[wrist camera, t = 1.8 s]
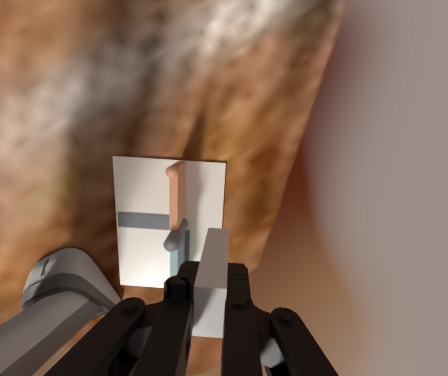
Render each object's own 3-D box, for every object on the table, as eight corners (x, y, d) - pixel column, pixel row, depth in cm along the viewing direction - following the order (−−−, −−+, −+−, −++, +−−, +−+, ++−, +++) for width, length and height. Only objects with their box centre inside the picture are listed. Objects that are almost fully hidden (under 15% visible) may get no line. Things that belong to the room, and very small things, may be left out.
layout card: (113, 155, 33) (112, 156, 32) (225, 162, 32) (225, 163, 32) (121, 283, 38) (120, 285, 37) (218, 290, 38) (217, 292, 37)
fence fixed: (176, 216, 35) (163, 237, 28) (188, 217, 35) (178, 239, 28) (176, 278, 37) (163, 310, 31) (187, 278, 37) (177, 311, 30)
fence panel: (177, 159, 32) (165, 165, 26) (187, 159, 32) (177, 166, 26) (176, 214, 34) (165, 232, 28) (186, 215, 34) (177, 233, 28)
